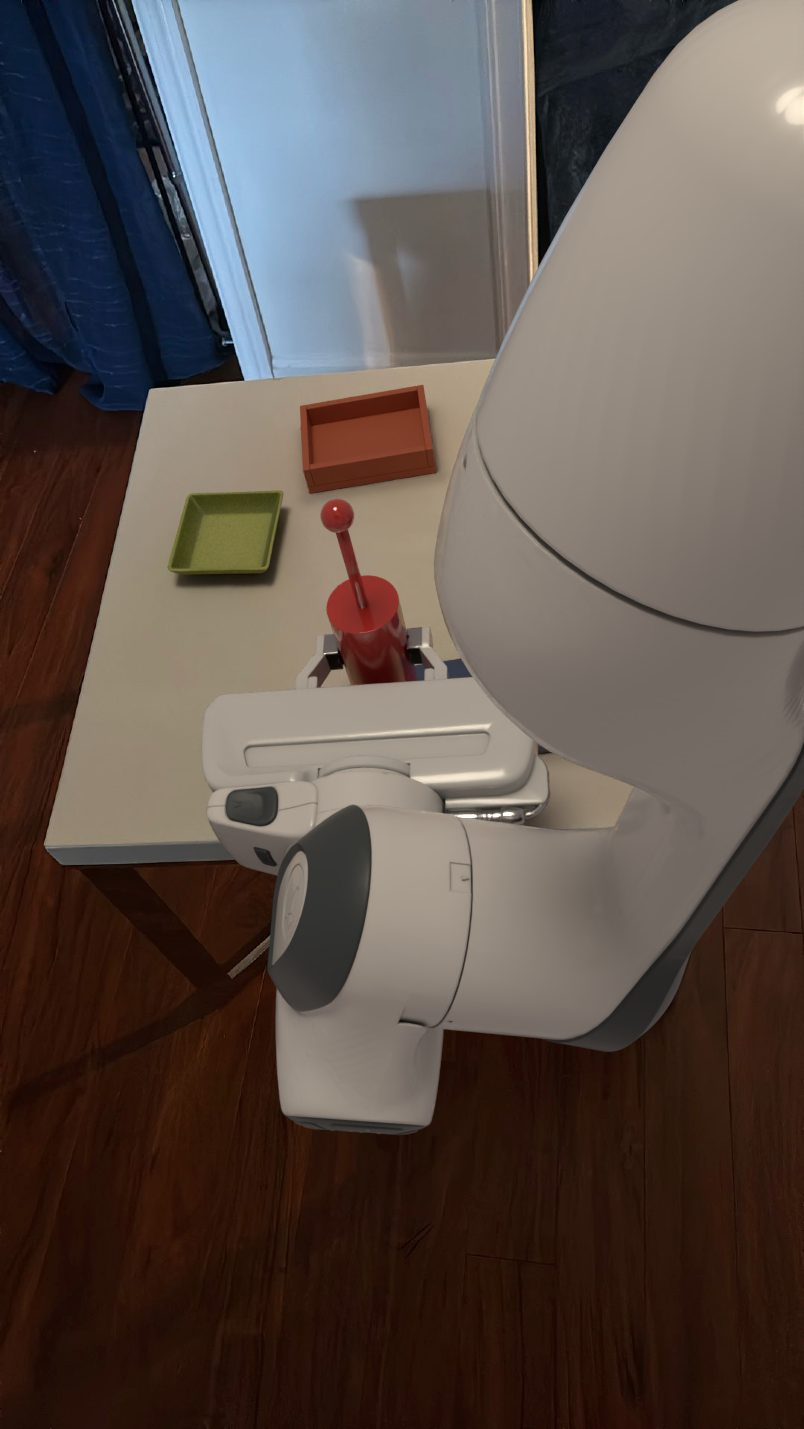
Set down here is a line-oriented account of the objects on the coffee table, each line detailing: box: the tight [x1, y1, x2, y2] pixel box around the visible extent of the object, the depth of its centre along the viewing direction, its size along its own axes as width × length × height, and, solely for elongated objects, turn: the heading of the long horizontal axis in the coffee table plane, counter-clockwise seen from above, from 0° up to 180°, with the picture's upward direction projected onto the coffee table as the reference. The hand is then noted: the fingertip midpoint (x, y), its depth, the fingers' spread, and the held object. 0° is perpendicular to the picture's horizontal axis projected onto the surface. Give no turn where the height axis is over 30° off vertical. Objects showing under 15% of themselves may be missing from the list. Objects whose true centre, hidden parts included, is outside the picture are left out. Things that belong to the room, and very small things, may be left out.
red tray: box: [299, 384, 437, 494], centre depth 92 cm, size 11×8×3 cm
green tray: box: [167, 490, 284, 575], centre depth 88 cm, size 9×9×2 cm
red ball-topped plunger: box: [320, 498, 418, 685], centre depth 63 cm, size 4×4×18 cm
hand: (374, 636), depth 66 cm, fingers closed on red ball-topped plunger, 4 cm apart
